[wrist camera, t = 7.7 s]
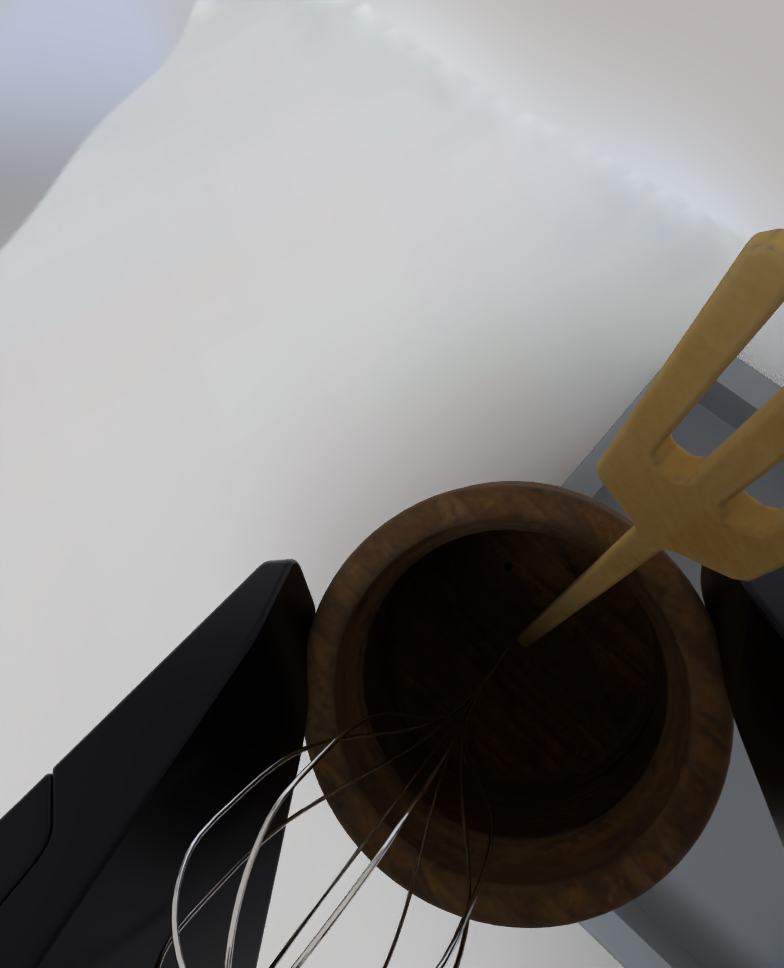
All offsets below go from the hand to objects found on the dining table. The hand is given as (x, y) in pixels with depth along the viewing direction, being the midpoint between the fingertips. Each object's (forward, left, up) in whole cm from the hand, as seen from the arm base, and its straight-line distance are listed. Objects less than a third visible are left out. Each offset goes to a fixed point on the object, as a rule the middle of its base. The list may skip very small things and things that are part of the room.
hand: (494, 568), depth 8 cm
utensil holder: (-1, 0, -7) cm, 7 cm away
